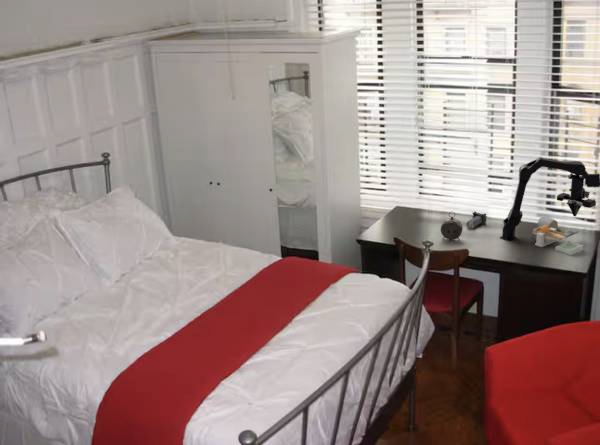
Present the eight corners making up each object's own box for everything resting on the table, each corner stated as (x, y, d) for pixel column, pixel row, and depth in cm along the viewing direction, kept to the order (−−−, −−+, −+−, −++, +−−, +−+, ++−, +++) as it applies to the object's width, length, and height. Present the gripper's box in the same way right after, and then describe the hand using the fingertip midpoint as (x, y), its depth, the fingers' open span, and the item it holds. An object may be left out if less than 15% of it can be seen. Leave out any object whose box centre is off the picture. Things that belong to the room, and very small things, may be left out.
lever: (557, 246, 349) (557, 237, 347) (531, 238, 360) (532, 229, 359) (577, 237, 358) (578, 228, 357) (552, 230, 370) (553, 221, 368)
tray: (571, 255, 342) (571, 250, 341) (555, 250, 349) (555, 244, 348) (583, 250, 347) (583, 244, 346) (567, 245, 354) (567, 239, 353)
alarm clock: (462, 239, 368) (463, 210, 363) (461, 243, 364) (462, 213, 358) (441, 238, 372) (442, 209, 366) (439, 241, 367) (440, 212, 362)
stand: (541, 247, 353) (542, 235, 351) (535, 245, 357) (535, 233, 354) (556, 241, 360) (557, 229, 358) (549, 239, 363) (550, 227, 361)
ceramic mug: (549, 234, 369) (550, 221, 366) (536, 230, 375) (537, 217, 373) (562, 230, 374) (563, 216, 372) (549, 226, 381) (550, 212, 378)
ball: (545, 234, 355) (546, 227, 353) (539, 232, 358) (539, 225, 356) (550, 232, 357) (551, 225, 355) (543, 230, 360) (544, 223, 358)
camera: (474, 224, 393) (464, 231, 385) (472, 211, 391) (461, 218, 383) (489, 224, 387) (478, 231, 379) (487, 211, 385) (476, 218, 377)
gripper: (603, 187, 348) (600, 216, 353) (569, 179, 362) (567, 208, 367) (590, 192, 341) (588, 222, 347) (557, 184, 356) (555, 213, 361)
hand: (574, 216), depth 356 cm, fingers closed
